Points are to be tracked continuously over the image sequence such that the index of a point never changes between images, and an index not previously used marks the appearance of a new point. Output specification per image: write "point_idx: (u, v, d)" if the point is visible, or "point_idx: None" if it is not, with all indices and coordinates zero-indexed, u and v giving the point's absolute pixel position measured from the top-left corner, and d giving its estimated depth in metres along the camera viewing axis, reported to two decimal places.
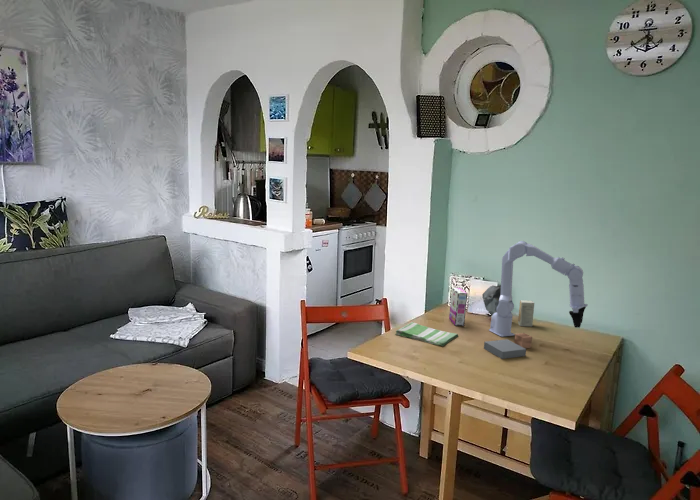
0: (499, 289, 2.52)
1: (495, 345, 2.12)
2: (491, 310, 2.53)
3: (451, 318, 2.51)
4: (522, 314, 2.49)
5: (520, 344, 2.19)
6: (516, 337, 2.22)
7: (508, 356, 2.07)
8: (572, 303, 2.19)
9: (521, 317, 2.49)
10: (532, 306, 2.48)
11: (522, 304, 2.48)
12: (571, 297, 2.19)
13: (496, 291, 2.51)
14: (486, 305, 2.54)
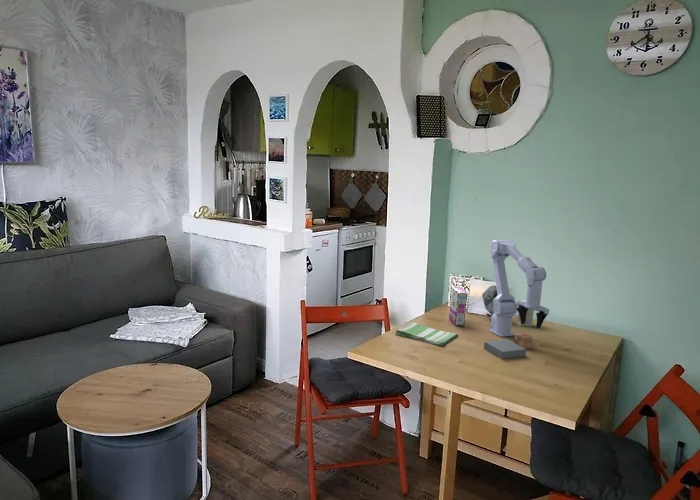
0: None
1: (495, 345, 2.12)
2: (491, 310, 2.53)
3: (451, 318, 2.51)
4: None
5: (520, 344, 2.19)
6: (516, 337, 2.22)
7: (508, 356, 2.07)
8: None
9: None
10: None
11: None
12: None
13: (496, 291, 2.52)
14: (486, 305, 2.54)
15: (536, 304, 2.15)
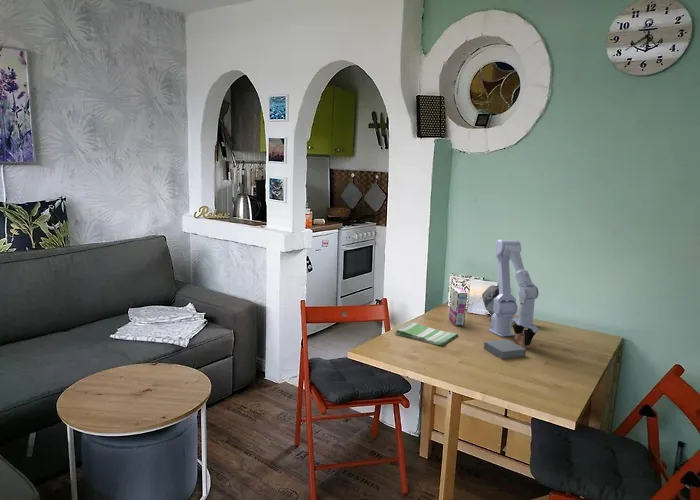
0: None
1: (495, 345, 2.12)
2: (491, 310, 2.54)
3: (451, 318, 2.51)
4: None
5: (520, 344, 2.19)
6: (516, 337, 2.22)
7: (508, 356, 2.07)
8: None
9: None
10: None
11: None
12: None
13: (496, 291, 2.52)
14: (486, 305, 2.54)
15: (527, 322, 2.17)
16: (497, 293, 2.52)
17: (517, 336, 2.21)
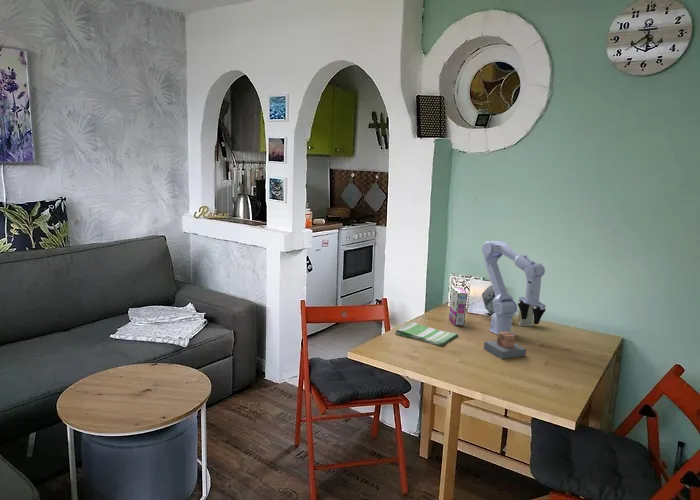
0: None
1: (495, 345, 2.12)
2: (491, 309, 2.55)
3: (451, 318, 2.51)
4: None
5: (503, 343, 2.10)
6: (499, 336, 2.13)
7: (508, 356, 2.07)
8: None
9: (521, 317, 2.49)
10: (532, 306, 2.48)
11: None
12: None
13: None
14: (486, 304, 2.55)
15: (534, 300, 2.18)
16: None
17: (500, 335, 2.12)
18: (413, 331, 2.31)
